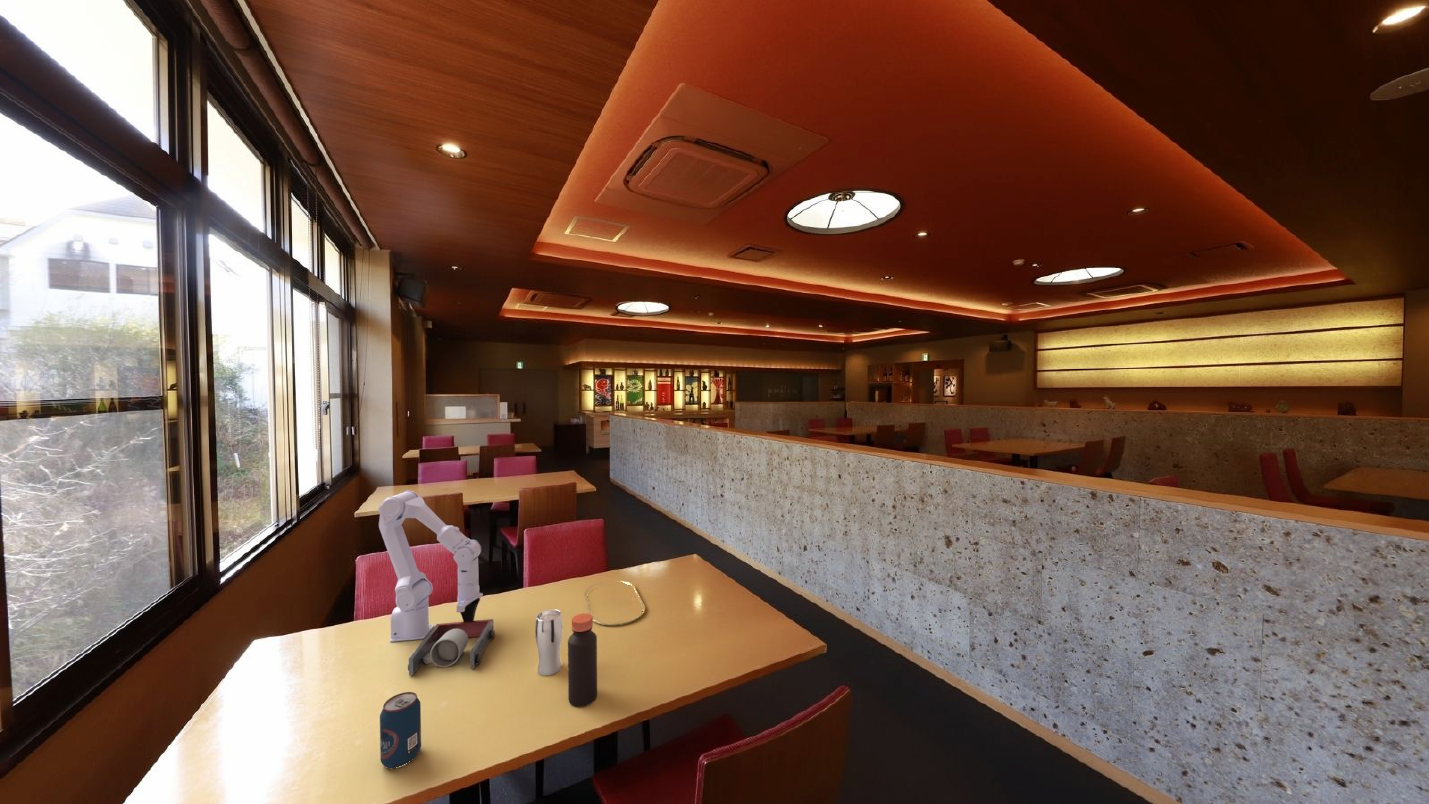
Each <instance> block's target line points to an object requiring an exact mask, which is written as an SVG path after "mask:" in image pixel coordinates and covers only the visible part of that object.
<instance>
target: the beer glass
mask: <svg viewBox="0 0 1429 804" xmlns="http://www.w3.org/2000/svg"><path fill="white" fill-rule="evenodd" d="M563 628H564V625H563V615H562V611H561V610H559V609H556V608H552V609H549V608H548V609H545V610H542V611H540V612H538V613H537V614H536V616H535V635H534V636H535V643H536V646H537V647H536V648H537V652H538V664H537V665H538V666H537V674H538V675H540V676H542V677H549V676H553V675H556V674H557V673H559V672H560V670H561V669H562V661H561V653H560V652H561V645H562V640H563V630H564V629H563Z"/></svg>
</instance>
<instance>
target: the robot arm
mask: <svg viewBox="0 0 1429 804" xmlns="http://www.w3.org/2000/svg"><path fill="white" fill-rule="evenodd" d="M378 512H379V519H378V520H379V521H378V528H379V531H380V534H381V537H382V539H383V542H384V546H385V547H386V550H387V553H388V555H389V559H390V561H391V564H392V566H393V570H394V572H395V575H396V577H397V582H396V585H395V587H394V592H395V605H396V607H394V608H393V610H392V613H391V616H390V639H389V643H390V642H391V643H393V642H402V641H414V640H424V639H425V638H426V637H427V636H428V634H429V633H430V632H431V631H432V629H433V628H434V627H435V624H429V623H430V618H429V616H430V615H429V612H430V611H429V601H430V600H429V596H430V595H431V594H432V593H433V583H432V582H431V581H430V580H429V579H428V578H427V576H426V573H424V572H422V571H419V568H418V566H417V564H416V563H417V562H416V561H415V557H414V555H413V551H412V549H411V547H410V544H409V541H408V539H407V536H406V532H405V529H404V527H403V525H402V524H403V522H404V521H405V520H406V519H416V520H418V521H419V522H420V523H422V524H423V525H424V526H426V527H427V528H428V529H430V530H431V531H432V532H434V533H435V534H436V541H438V542H439V543H440V544H441V545H442V546H443V547H445V548H446V549H447V551H449V552H450V553H452V554H453V560H454V562H455V563H456V564H457V603H456V613H460V615H461V617H462V622H465V621H475V616H476V611H477V608H478V605H479V603H480V601H481V599H482V597H483V596H484V593H483V592H480V585H479V583H480V582H479V556H480V554H481V552H482V545H481V543H480V542H479V541H478V540H476V539H470V538H469V537H467V536H466V535H464V534H463V533H462V531H460V528H459V527H458V526H454V525H451V524H450V525H447V524H446V523H445V522H444V521H443V520H442V519H441V518H440V517H438V516H437V514H436V513H435V512H434V511H433V510H432V509H431V508H430V507H429V506H428V505H427V504H426V502H425V500H424V498H423V497H421V496H419V494H418V493H417V492H415V491H413V490H405V491H403V492H401V493H398V494H396V495H393V496H388V497H386V498H385V499H384V500H383V501H382V502H381V504H379V507H378Z"/></svg>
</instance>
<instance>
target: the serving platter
mask: <svg viewBox="0 0 1429 804" xmlns="http://www.w3.org/2000/svg"><path fill="white" fill-rule="evenodd" d="M611 581H616V582H623V583H625V584H627V585H631V586H632V587H633V589H634V593H635V594H636V595H637V599H638V602H640V603H641V606H642V611H643V612H642V614H641V615H640V614H639V615H640V616H639V615H638V616H637V617H635V618H633V619H630V620H627V621H623V622H615V623H606V622H600V621H597V620H596V619H594V620H593V623H596V624H597V623H598V624H597V625H600V624H601V625H600V626H604V625H607V627H617V626H616V625H619V626H624V625H628V624H630V622H631V623H632V621H633V622H635V621H637V620H638V619H639V618H641V617H642V616H643V615H644V613H645V612H646V605H645V604H644V602H643V600H642V598H641V596H640V594H639V592H638V590H637V589H636V586H635V585H634V584H633V583H631V582H630V581H627V580H620V579H616V580H615V579H611V580H605V581H604V580H603V581H600V582H599V581H598V582H596V583H593V584H592V585H590V586H588V587H587V588H585V590H584V592H583V596H584V602H585V606H586V610H587V614H591V612H590V611H591V610H592V608H591V609H590V607H589V604H588V602H589V603H590V600H589V601H588V599H589V597H588V598H587V594H588V592H589V591H590V589H592V588H593V587H594V586H596V585H601V584H604V583H607V582H611ZM588 595H589V594H588ZM636 619H637V620H636ZM627 623H628V624H627ZM623 624H624V625H623Z"/></svg>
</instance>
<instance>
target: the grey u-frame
mask: <svg viewBox="0 0 1429 804" xmlns="http://www.w3.org/2000/svg"><path fill="white" fill-rule="evenodd" d="M456 628H458V629H462V630H464V631H465V632H466V633H467V635H468V638H475V637H477V638H478V639H477V641H476V642H475V644H474V645H473V647H472V649H471V650H470V652H469V659H470V660H469V665H470V667H469V668H470V669H471V670H473V669H475V668H476V666H477V665H479V664H481V663H482V656H483V653H484V652H485V650H486V648H487V646H488V644H489V643H490V641H491V640H493V639H494V638H495V636H496V635H495V629H494V618H491V619H489V618H488V619H479V620H474V621H465V622H463V621H456V622H454V621H453V622H444V623H436V624H435V625H434V627H433V628H432V629H431V631H430V632H429V633H428V634H427V635H426V637H425V638H424V639H423V640H422V642H421V643H420V644H419V645H418V647H417V648H416V649H415V650H414V651H413V653H412V654H411V655H410V656H409V658H408V665H407V671H408V676H414V675H415V673H416V672H417V671H418V669H420V668H421V667H420V666H422V664H423V663H424V661H423V658H424V657H425V656H426V655H427V654H428V653H429V652H431V649H432V647H433V646H434V644H435V643H436V642H437V641H438V640H439V639H440V638H441V637H442V636H443V635H444V634H445V633H446V632H448V631H449V630H452V629H456Z"/></svg>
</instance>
